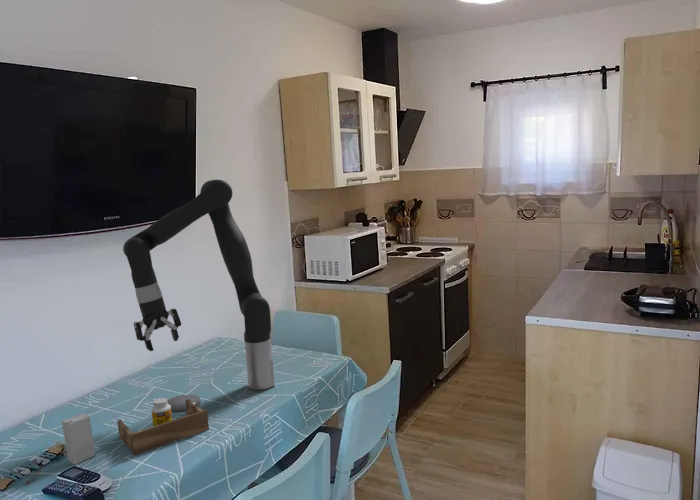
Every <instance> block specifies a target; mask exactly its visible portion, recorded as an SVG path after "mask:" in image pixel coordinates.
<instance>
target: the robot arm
mask: <svg viewBox="0 0 700 500" xmlns="http://www.w3.org/2000/svg"><path fill="white" fill-rule="evenodd" d="M232 198H233V188H232V187H231V185H230V184H229V183H228V182H227V181H225V180H223V179H210V180H208V181H205V182H204V183H203V185H202V186H201V188H200V192H199V194H198V195H196V196H195V197H194V198H193V199H191V200H190V201H188V202H187V203H185V204H183V205H182V206H180V207H178V208H175V209H174V210H173V211H170V212H169V213H167V214H165V215H164V216H162V217H160V218H159V219H158V220H156V221H154V223H152V224H151V225H150V226H148V227H147V228H145V229H143V230H141V231H139V233H137V234H135V235H132V237H130V238H129V239H127V240H126V241H125V242H124V243H123V246H122V250H123V253H124V255H125V257H126V258H127V261H128V264H129V268H130V271H131V272H130V273H131V279H132V282H133V286H134V289H135V291H134V292H135V296H136V299H137V302H138V307H139V309H140V313H141V316H142V320H139V321H134V322H133V327H134V331H135V336H136V340H137V341H140V342H143V341H144V344H145V348H146V350H148V351H149V352H153V351H154V347H153V344H152V339H150V338H151V335H152V334H153V333H154V331H156V330H159V329H160V328H164V327H165V326H166V327H168V328H169V329H170V332H171V333H170V334H171V336H172V339H173V342H178V341H179V339H180V336H179V333H178V328H179V327H181V326H182V321H181V319H180V316H179V314H178V310H177V309H176V308H171V309H169V310H167V308H166V307H167V306H166V305H165V301H164V297H163V292H162V290H161V287H160V286H159V283H158V279H157V276H156V273H155V270H154V267H153V261H152V255H151V252H150V251H152V250H153V249H155V248H156V247H158V246H159V245H163V244H164V243H165V244H166V242H168V241H169V240H170V239H172V238H173V237H175V236H176V235H177V234H179V233H181V232H182V231H183V230H184V229H186V228H187V227H189V226H191V224H193V223H195V222H196V221H197V220H199V219H201V218H202V217H204V216H206V215H207V214H208V216H209V218H210V220H211V223H212V226H213V230H214V233H215V237H216V240H217V243H218V247H219V250H220V254H221V256H222V259H223V262H224V264H225V266H226V269H227V272H228V274H229V276H230V279H231V280H232V282H233V285H234V288H235V291H236V292H235V293H236V297H237V300H238V301H237V302H238V305H239V310H240V312H241V315H243V319H244V333H243V338H244V339H243V340H244V351H245V362H246V363H245V364H246V372H247V375H246V376H247V386H248V388H249V389H250V390H253V391H254V390H255V391H256V390H257V391H262V390H268V389H270V388H272V387H276V384H275V370H274V361H273V360H274V359H273V352H272V341H271V331H272V320H271V317H272V316H271V308H270V304H269V301H268V300H267V299H266V298H264V297H263V296H262V295H261V292H260V290H259V288H258V286H257V283H256V281H255V278H254V269H253V260H252V257H251V256H252V255H251V251H250V249H249V247H248V244H247V241H246V238H245V236H244V234H243V233H242V231H241V229H240V227H239V226H238V225H237V222H236V221H235V218H234V217H233V214H232V211H231V208H230V204H229V203H230V201H231V199H232ZM169 316H170V317H172V321H173V322H171V321H170V320H168V319H169ZM143 325H144V326H146V327H145V330H144V333H143V331H142V328H143Z"/></svg>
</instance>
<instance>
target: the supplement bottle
mask: <svg viewBox="0 0 700 500" xmlns="http://www.w3.org/2000/svg"><path fill="white" fill-rule="evenodd" d="M167 400H168V399H167V398H166V397H159V398H156V399H154V400H153V402H152V403H153V406H152V407H151V417H152V418H151V420H152V427H154V426H157V425H160V424H163V423H166V422H169V421H172V420H173V416H172V415H173V414H172V412H171V406H170V405H169V404H168V402H167Z"/></svg>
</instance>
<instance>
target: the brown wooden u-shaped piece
mask: <svg viewBox="0 0 700 500" xmlns="http://www.w3.org/2000/svg"><path fill="white" fill-rule="evenodd" d="M208 414H209V413H208V409H202V408H201V407H199V405H198V406H197V405H195V404H194V403H193V402H192V401H190V400H189V399H187V400H186V415H185V416H182V417H179V418H175V419H172V421H169V422H166V423H163V424H160V425H157V426H154V427H153V426H151V427H148V428H145V429H142V430H139V431H136V432H132V431H131V429H130V428H129V427H128V426H127V425H126V424H125V422H123V420H122V419H119V420H117V421H116V422H117V428H118V436H119V438H120V439H121V441H122V442H123V443H124V445H126V447H127V448H128V449H129V450H130V451H131V452H132V454H133V455H134V456H137V455H139V454H140V455H141V454H143V453H145V452H148V451H151V450H153V449H154V450H155V449H157V448H159V447H162V446H165V445H167V444H168V445H169V444H171V443H174V442H177V441H179V440H183V439H186V438H188V437H191V436H193V435H197V434H199V433H202V432H206V431H208V430H210V427H209V426H210V425H209V416H208Z"/></svg>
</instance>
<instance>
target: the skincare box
mask: <svg viewBox="0 0 700 500" xmlns="http://www.w3.org/2000/svg"><path fill="white" fill-rule="evenodd" d="M61 424H62V430H63V437H64V443H65V449H66V456H67V461H68V462H70V463H71V464H72V465H77V464H80V463H82V462H84V461H86V460H88V459H91V458H93V457H95V456H96V450H95V443H94V438H93V437H94V436H93V430H92V424H91V417H90V415H88V414H86V413H84V412H82V413H80V414H77V415H74V416H71V417H69V418H67V419H63V420H61Z"/></svg>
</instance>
